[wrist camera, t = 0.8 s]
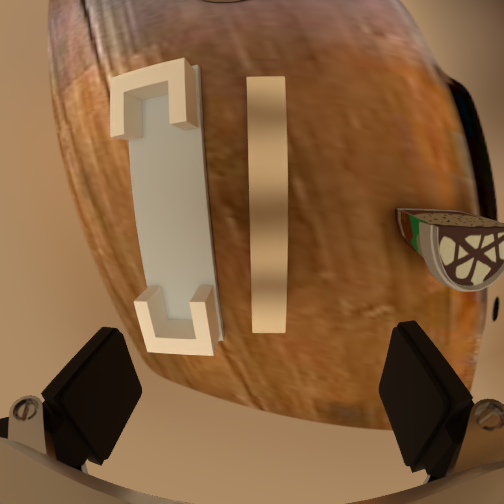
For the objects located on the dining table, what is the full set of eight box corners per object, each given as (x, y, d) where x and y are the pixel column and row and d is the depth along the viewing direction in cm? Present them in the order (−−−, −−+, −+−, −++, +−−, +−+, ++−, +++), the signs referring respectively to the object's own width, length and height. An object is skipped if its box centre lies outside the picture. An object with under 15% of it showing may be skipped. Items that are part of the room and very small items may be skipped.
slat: (251, 96, 24) (246, 77, 19) (282, 95, 24) (284, 76, 18) (256, 303, 31) (252, 332, 25) (283, 303, 30) (285, 332, 25)
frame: (131, 83, 24) (109, 71, 19) (200, 68, 24) (186, 50, 19) (162, 334, 32) (147, 357, 28) (224, 335, 32) (217, 361, 27)
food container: (379, 264, 28) (421, 304, 18) (383, 207, 26) (431, 227, 17) (462, 259, 27) (511, 290, 18) (467, 210, 25) (522, 228, 16)
